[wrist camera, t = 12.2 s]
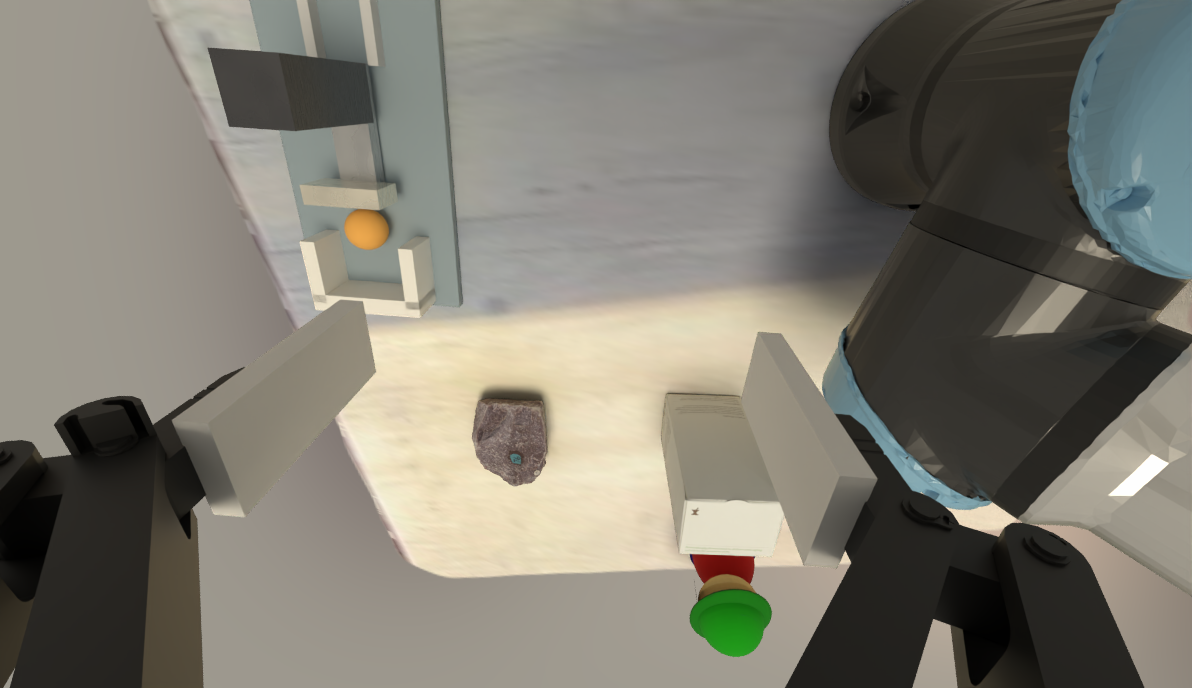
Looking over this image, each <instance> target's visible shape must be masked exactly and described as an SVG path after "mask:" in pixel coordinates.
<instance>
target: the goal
mask: <svg viewBox="0 0 1192 688" xmlns="http://www.w3.org/2000/svg"><path fill="white" fill-rule="evenodd" d="M300 245H301V250H302V254H303V258H304V262H305V267H306V271H307V275H308V279H309V284H310V288H311V292H312V296H313V300H314V305H315V309H316V310H324V311H325V310H326V309H328V308H329V307H330V306H332V305H333V304H335V303H336V302H337V301H339V300H340V299H341V300H354V301H363V304H364V309H365V314H376V315H389V316H401V317H414V318H421V317H422V316H423V315H424V314H425V312H426V311H427V310H428V309H429V308H430V307H431V306H432V305H433V304H434V303H435V302H436V295H435V285H434V276H433V266H432V257H431V247H430V238H429V237H420V236H416V237H414V238H413V239H411V240H410V241H409V242H407V243H406V244H404V245H403V246H401V247H400V248H398V254H399V262H400V269H401V276H402V283H403V284H398V283H385V282H372V281H359V280H349V278H348V273H347V268H346V263H345V258H344V253H343V248H342V242H341V237H340V232H339V230H327V229H326V230H324V231H322V232H319V233H317V234H315V235H313V236H310V237H308V238H306V239H304V240H302V241H300Z"/></svg>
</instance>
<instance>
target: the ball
mask: <svg viewBox="0 0 1192 688" xmlns="http://www.w3.org/2000/svg"><path fill="white" fill-rule="evenodd" d="M344 230H345V234H346V236H347V238H348V240H349V241H350V242H351V243H352V244H353V245H355V246H356V247H358V248H361V249H365V250H373V249H377V248H379V247H381V246H382V245H383V244H384V243H385V242H386V240H387V238H388V235H389V227H388V224H387V222H386V220H385V219H384V217H383V216H382V215H381V214H379V213H378V212H376V211H374V210H369V209H357V210H355V211H353V212H351V213H350V214H349V215H348V217H347V218H346V220H345V224H344Z"/></svg>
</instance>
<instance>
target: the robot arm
mask: <svg viewBox="0 0 1192 688" xmlns="http://www.w3.org/2000/svg"><path fill="white" fill-rule="evenodd" d="M829 133H830V145H831V150H832V154H833V158H834V160H835V163H836V165H837V168H838V170H839V171H840V173H841V175H842V176H843V178H844V179H845V180H846V182H847V183H848V184H849V185H850V186H851V187H852V188H853V189H854V190H856V191H857V192H858V193H859V194H861V195H862V196H864V197H866V198H868V199H870V200H872V201H875V202H877V203H880V204H882V205H885V206H888V207H891V208H895V209H900V210H909V211H917V212H916V213H915V215H914V217H913V218H912V220H911V221H910V222H909V224H908V226H907V228H906V229H905V231H904V233H903V234H902V236H901V238H900V240H899V241H898V243H897V245H896V247H895V248H894V250H893V252H892V253H891V255H890V257H889V259H888V260H887V262H886V264H885V266H884V267H883V269H882V271H881V273H880V274H879V276H878V278H877V279H876V281H875V283H874V284H873V286H872V288H871V289H870V291H869V293H868V294H867V296H866V297H865V299H864V301H863V302H862V304H861V306H860V307H859V309H858V311H857V312H856V314H855V316H854V317H853V319H852V321H851V322H850V324H848V325H847V327H846V328H845V329H843V331H842V333H841V335H840V337H839V342H838V348H837V349H836V351H835V353H834V355H833V357H832V359H831V361H830V363H829V365H828V367H827V369H826V371H825V373H824V376H823V381H822V391H823V395H824V397H823V396H822V394H821V393H820V391H819V390H818V388H817V387H816V385H815V384H814V382H813V381H812V379H811V378H810V376H809V375H808V373H807V372H806V370H805V369H804V367H803V366H802V364H801V363H800V361H799V360H798V358H797V357H796V355H795V354H794V352H793V351H792V349H791V348H790V346H789V345H788V343H787V342H786V340H785V339H784V337H783V335H782V334H778V333H765V332H758V334H757V338H756V342H755V346H754V350H753V354H752V358H751V362H750V366H749V370H748V374H747V378H746V382H745V386H744V390H743V394H742V398H741V403H742V406H743V408H744V411H745V414H746V416H747V419H748V421H749V424H750V427H751V429H752V432H753V434H754V437H755V440H756V442H757V445H758V447H759V450H760V453H761V455H762V458H763V461H764V463H765V466H766V468H767V471H768V474H769V476H770V479H771V481H772V484H773V487H774V489H775V492H776V494H777V497H778V500H779V502H780V505H781V507H782V510H783V513H784V515H785V518H786V520H787V523H788V526H789V528H790V531H791V533H792V536H793V539H794V541H795V544H796V547H797V549H798V552H799V554H800V557H801V560H802V562H803V565H805V566H817V567H828V568H837V567H838V565H839V563H840V561H841V559H842V556H843V554H844V552H845V551H846V553H847V555H848V557H849V559H850V561H851V565H850V567H849V568H848V570H847V572H846V574H845V576H844V578H843V580H842V582H841V584H840V585H839V587H838V589H837V591H836V593H835V595H834V597H833V599H832V600H831V602H830V604H829V606H828V608H827V610H826V612H825V614H824V615H823V617H822V619H821V621H820V623H819V625H818V627H817V629H816V631H815V632H814V634H813V636H812V638H811V640H810V642H809V644H808V646H807V647H806V649H805V651H804V653H803V655H802V657H801V659H800V661H799V663H798V664H797V667H796V668H795V670H794V672H793V674H792V676H791V678H790V680H789V681H788V683H787V685H786V687H785V688H912V687H913V683H914V680H915V677H916V673H917V670H918V667H919V663H920V660H921V657H922V654H923V650H924V647H925V644H926V640H927V637H928V634H929V631H930V627H931V624H932V621H933V619H935V620H938V621H941V622H944V623H946V624H949V625H951V633H952V642H953V650H954V660H955V667H956V677H957V686H958V688H1144V686H1143V683H1142V681H1141V679H1140V677H1139V674H1138V672H1137V670H1136V667H1135V665H1134V663H1133V661H1132V659H1131V656H1130V654H1129V652H1128V649H1127V647H1126V645H1125V643H1124V640H1123V638H1122V636H1121V634H1120V631H1119V629H1118V627H1117V624H1116V622H1115V620H1114V618H1113V615H1112V613H1111V611H1110V608H1109V606H1108V604H1107V602H1106V599H1105V598H1104V595H1103V593H1102V590H1101V588H1100V586H1099V584H1098V581H1097V579H1096V577H1095V574H1094V572H1093V570H1092V568H1091V566H1090V564H1089V563H1088V561H1087V560H1086V559H1085V557H1084V556H1083V555H1082V554H1081V553H1080V552H1079V551H1078V550H1077V549H1075V548H1074V547H1073V546H1072V545H1071V544H1070V543H1068V542H1067V541H1066V540H1064V539H1063V538H1060V537H1059V536H1057V535H1056V534H1054V533H1052V532H1049V531H1047V530H1044V529H1042V528H1040V527H1038V526H1033V525H1030V524H1037V525H1039V524H1040V525H1060V526H1074V527H1078V528H1082V529H1086V530H1089V531H1091V532H1092V533H1093V534H1095V535H1096V536H1098V537H1100V538H1101V539H1103V540H1104V541H1106V542H1107V543H1109V544H1110V545H1112V546H1114V547H1115V548H1117V549H1118V550H1120V551H1121V552H1123V553H1124V554H1126V555H1128V556H1129V557H1131V558H1132V559H1134V560H1135V561H1137V562H1138V563H1140V564H1141V565H1143V566H1145V567H1146V568H1148V569H1149V570H1151V571H1153V572H1154V573H1156V574H1157V575H1159V576H1160V577H1162V578H1164V579H1165V580H1166V581H1168V582H1169V583H1171V584H1173V585H1174V586H1176V587H1177V588H1179V589H1180V590H1182V591H1183V592H1185V593H1187V594H1188V595H1190V596H1191V597H1192V335H1191V334H1188V333H1186V332H1183V331H1180V330H1178V329H1175V328H1172V327H1170V326H1167V325H1164V324H1162V323H1160V322H1158V321H1157V320H1156V318H1157V316H1158V315H1159V314H1160V313H1161V311H1162V310H1163V309H1164V308H1165V307H1166V306H1167V305H1168V303H1169V302H1170V301H1171V300H1172V299H1173V298H1174V297H1175V296H1176V295H1177V294H1178V293H1179V292H1180V290H1181V289H1182V288H1183V287H1184V286H1185V285H1186V284H1187V283H1188V282H1189V281H1190V280H1191V279H1192V0H916V1H914V2H912V3H910V4H908V5H907V6H905V7H903V8H902V9H900V10H899V11H897V12H896V13H894V14H893V15H892V16H890V17H889V18H888V19H887V20H885V21H884V22H883V23H882V24H881V25H880V26H879V27H878V28H877V29H876V30H875V31H874V32H873V33H872V34H871V35H870V36H869V37H868V38H867V39H866V40H865V42H864V43H863V44H862V45H861V47H860V48H859V49H858V51H857V52H856V53H855V55H854V56H853V58H852V60H851V61H850V63H849V64H848V66H847V68H846V70H845V72H844V74H843V76H842V78H841V80H840V83H839V85H838V88H837V91H836V94H835V97H834V100H833V104H832V109H831V115H830V127H829ZM375 372H376V369H375V364H374V359H373V353H372V348H371V342H370V337H369V331H368V326H367V320H366V315H365V309H364V304H363V301H354V300H341V299H340V300H339V301H337V302H336V303H335V304H333V305H332V306H330V307H329V308H328V309H326V310H325V311H323V312H322V313H321V314H319V315H318V316H316V317H315V318H314V319H312V320H311V321H309V322H308V323H307V324H305V325H304V326H303V327H301V328H300V329H298V330H297V331H296V332H294V333H293V334H291V335H290V336H289V337H287V338H286V339H284V340H283V341H282V342H280V343H279V344H277V345H276V346H275V347H273V348H272V349H270V350H269V351H268V352H266V353H265V354H264V355H262V356H261V357H259V358H258V359H257V360H255V361H254V362H252V363H251V364H249V365H248V366H247V367H243V368H241V369H238V370H236V371H234V372H231V373H229V374H227V375H224V376H223V377H221V378H219V379H218V380H217V381H215V382H214V383H212V384H211V385H209V386H208V387H207V389H206V390H202V391H201V392H199V393H198V394H197V395H195V396H194V398H193V399H190V400H188V401H186V402H185V403H184V404H182V405H181V406H179V407H178V408H176V409H175V410H174V411H172V412H171V413H169V414H168V415H166V416H165V417H164V418H162V419H161V420H159V421H158V422H156V423H155V424H154V425H152V423H151V420H150V418H149V416H148V414H147V412H146V410H145V407H144V405H143V403H142V402H141V399H139V398H136V397H133V396H117V397H110V398H104V399H100V400H97V401H94V402H90V403H87V404H84V405H82V406H80V407H77V408H75V409H73V410H71V411H69V412H68V413H66V414H65V415H63V416H61V417H60V418H59V419H58V420H57V422H56V423H55V424H54V426H55V428H56V429H57V431H58V433H59V434H60V436H61V438H62V439H63V441H64V443H65V445H66V446H67V448H68V449H69V451H70V453H71V455H66V456H58V457H51V458H42V457H41V455H40V453H39V452H38V450H37V449H36V447H35V446H34V444H33V443H32V442H28V441H23V440H18V441H6V442H1V443H0V688H3V687H4V685H5V684H6V682H7V680H8V679H9V677H10V675H11V674H12V672H13V670H14V668H15V671H14V674H13V678H12V682H11V685H10V688H203V663H202V662H203V661H202V634H201V610H200V609H201V607H200V583H199V582H200V581H199V553H198V527H197V518H196V516H195V514H194V512H193V509H192V508H193V507H194V506H195V505H196V504H197V503H198V502H199V501H200V500H201V499H202V498H203V497H204V496H206V499H207V501H208V503H209V505H210V508H211V510H212V512H213V514H214V515H227V516H238V517H246V516H247V514H249V513H250V511H251V510H252V509H253V508H254V507H255V506H256V505H257V503H258V502H259V501H260V500H261V499H262V498H263V497H264V496H265V495H266V494H267V492H268V491H269V490H270V489H271V488H272V487H273V486H274V485H275V484H276V482H277V481H278V480H279V479H280V478H281V477H282V476H283V474H284V473H285V472H286V471H287V470H288V469H289V468H290V467H291V466H292V465H293V463H294V462H295V461H296V460H297V459H298V458H299V457H300V456H301V455H302V454H303V452H304V451H305V450H306V449H307V448H308V447H309V446H310V445H311V444H312V442H313V441H314V440H315V439H316V438H317V437H318V436H319V435H320V434H321V432H322V431H323V430H324V429H325V428H326V427H327V426H328V425H329V423H330V422H331V421H332V420H333V419H334V418H335V417H336V416H337V415H338V414H339V412H340V411H341V410H342V409H343V408H344V407H345V406H346V405H347V404H348V402H349V401H350V400H351V399H352V398H353V397H354V396H355V395H356V394H357V392H358V391H359V390H360V389H361V388H362V387H363V386H364V385H365V384H366V382H367V381H368V380H369V379H370V378H371V377H372V376H373V375H374V374H375ZM824 398H825V399H824ZM920 492H922V493H923V494H921V493H920ZM992 502H993V503H995V504H996V505H997V506H999V507H1000V508H1002V509H1003V510H1005V511H1006V512H1008V513H1009V514H1011V515H1012V516H1013V517H1015V518H1016V519H1018V520H1020V521H1021V522H1022V523H1011V524H1009V525H1008V526H1006V527H1005V528H1004V530H1003V531H1002V533H1001V534H1000V536H999V537H997V536H994V535H991V534H987V533H984V532H981V531H978V530H974V529H971V528H968V527H964V526H962V525H959V523H958V521H957V520H956V518H955V517H954V515H953V514H952V513H951V512H950V511H949V510H948V509H947V508H946V507H948V508H952V509H958V510H971V509H975V508H978V507H982V506H987V505H989V504H990V503H992Z"/></svg>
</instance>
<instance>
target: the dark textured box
mask: <svg viewBox="0 0 1192 688" xmlns="http://www.w3.org/2000/svg"><path fill="white" fill-rule="evenodd" d="M208 51H209V55H210V58H211V62H212V66H213V69H214V73H215V76H216V80H217V84H218V87H219V91H220V95H221V98H222V102H223V106H224V109H225V113H226V116H227V120H228V124H229V127H243V128H257V129H271V130H285V131H302V130H312V129H321V128H330V127H331V129H332V135H333V140H334V146H335V151H336V156H337V162H338V167H339V173H340V178H341V179H331V178H322V179H319V180H315V181H311V182H308V183H304V184H300V189H301V194H302V198H303V203H304V205H315V206H329V207H342V208H356V209H369V210H381V209H383V208H386V207H388V206H390V205H392V204H394V203H396V202H398V198H397V191H396V183H386V182H385V178H384V171H383V164H382V157H381V150H380V143H379V136H378V129H377V122H376V115H375V108H374V101H373V94H372V87H371V80H370V72H369V65H368V64H365V63H357V62H349V61H341V60H333V59H325V58H317V57H309V56H301V55H293V54H286V53H277V52H263V51H248V50H233V49H219V48H208Z"/></svg>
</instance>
